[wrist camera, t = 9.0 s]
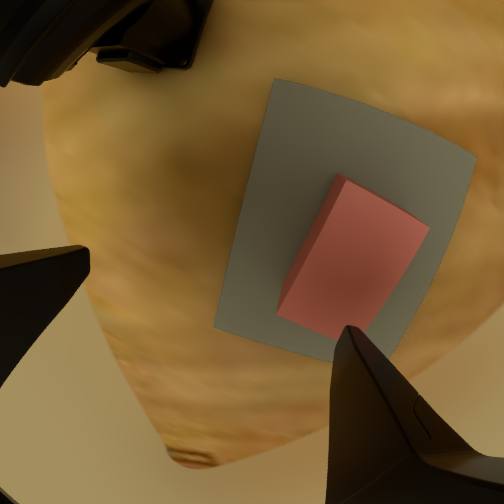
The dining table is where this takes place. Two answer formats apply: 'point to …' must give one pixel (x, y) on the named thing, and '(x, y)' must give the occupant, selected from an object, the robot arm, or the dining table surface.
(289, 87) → the mat
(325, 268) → the red block
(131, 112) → the dining table surface
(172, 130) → the dining table surface
